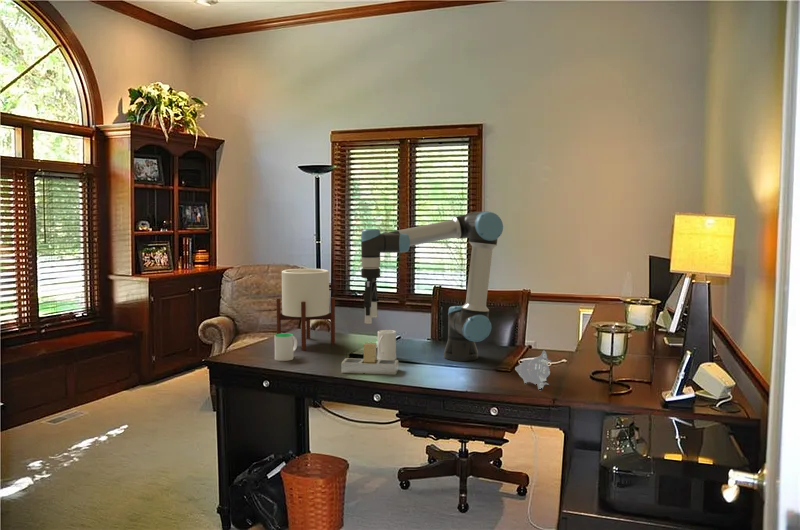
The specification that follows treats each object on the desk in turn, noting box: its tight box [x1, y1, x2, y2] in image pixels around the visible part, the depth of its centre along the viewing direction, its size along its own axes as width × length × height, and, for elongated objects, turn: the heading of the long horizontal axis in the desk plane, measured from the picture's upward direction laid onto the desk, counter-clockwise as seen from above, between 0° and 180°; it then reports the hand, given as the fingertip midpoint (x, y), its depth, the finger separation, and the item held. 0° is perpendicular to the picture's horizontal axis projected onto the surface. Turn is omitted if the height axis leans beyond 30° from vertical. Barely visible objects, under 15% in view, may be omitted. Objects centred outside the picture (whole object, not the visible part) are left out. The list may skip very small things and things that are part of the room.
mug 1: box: [273, 332, 298, 362], centre depth 276 cm, size 12×8×10 cm
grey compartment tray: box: [340, 357, 399, 376], centre depth 254 cm, size 22×8×4 cm, turn 83°
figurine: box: [514, 350, 552, 390], centre depth 233 cm, size 10×15×14 cm
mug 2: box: [376, 329, 397, 360], centre depth 274 cm, size 12×8×12 cm
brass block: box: [363, 342, 377, 363], centre depth 253 cm, size 4×4×10 cm
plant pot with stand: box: [275, 268, 336, 352], centre depth 303 cm, size 22×22×36 cm
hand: (371, 320), depth 252 cm, fingers open, 13 cm apart
